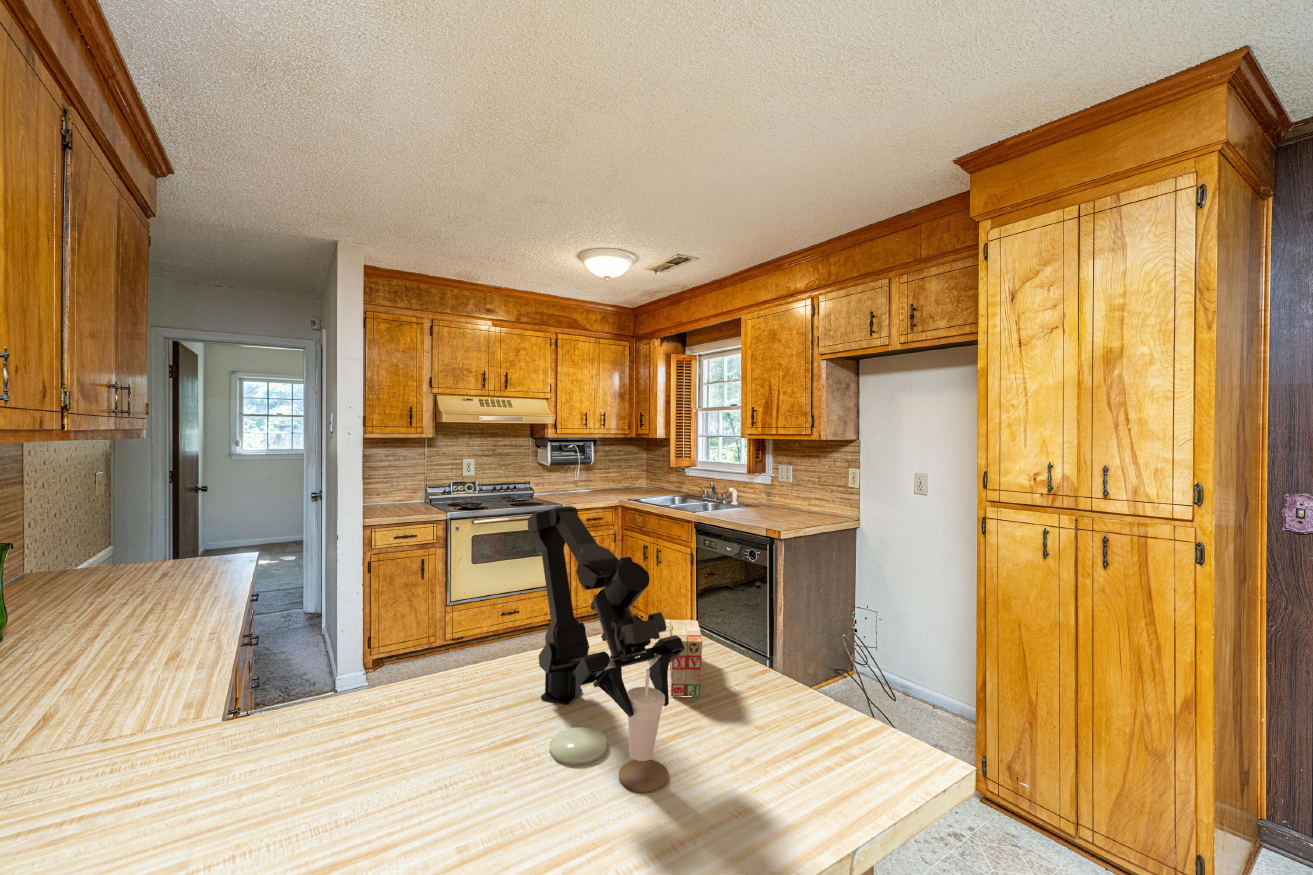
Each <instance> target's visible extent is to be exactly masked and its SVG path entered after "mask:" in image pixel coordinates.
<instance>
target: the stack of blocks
mask: <svg viewBox="0 0 1313 875" xmlns="http://www.w3.org/2000/svg"><path fill="white" fill-rule="evenodd" d="M674 635H676V636H678V637H680V638H681V640H682V642H683V644H684V646H685V649H684V650H683V651H682V652H681V653H680V654H679V655H678V656H677V657H676V658H675V659H674V660H673V661H672V662H670V663H669V671H671V672H670V697H671V696H692V697H700V698H701V689H702V688H701V684H702V682H701V675H702V674H701V672H702V659H703V658H702V654H703V639H702V638H703V637H702V633H701V628H700V625H699V621H698V620H693V619H670V620H669V637H670V636H674Z"/></svg>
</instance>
